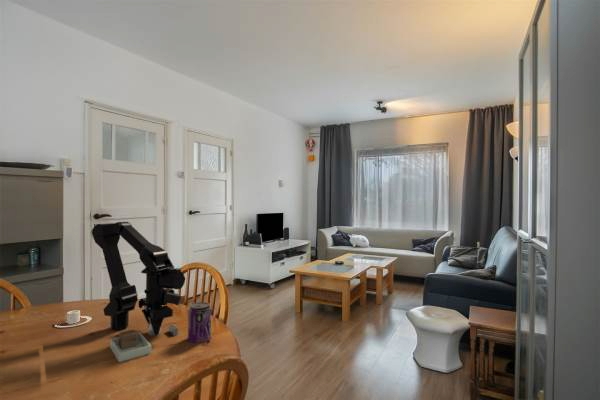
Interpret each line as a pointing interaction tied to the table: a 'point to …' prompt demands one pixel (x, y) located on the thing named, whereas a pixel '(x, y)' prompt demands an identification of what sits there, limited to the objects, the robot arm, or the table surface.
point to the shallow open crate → (139, 350)
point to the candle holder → (74, 318)
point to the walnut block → (127, 339)
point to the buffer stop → (173, 330)
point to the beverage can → (199, 322)
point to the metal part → (151, 330)
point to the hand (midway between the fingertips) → (154, 332)
